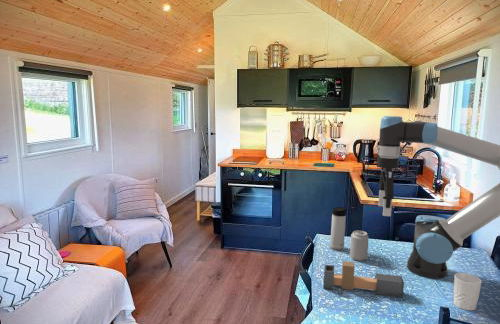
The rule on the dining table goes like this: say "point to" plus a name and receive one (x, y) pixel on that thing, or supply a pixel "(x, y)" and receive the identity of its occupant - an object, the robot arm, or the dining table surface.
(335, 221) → the travel mug
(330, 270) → the socket
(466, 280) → the white cup
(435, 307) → the dining table surface
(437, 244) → the robot arm
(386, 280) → the sleeve
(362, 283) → the l-shaped wooden block pair
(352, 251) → the can
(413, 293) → the dining table surface
